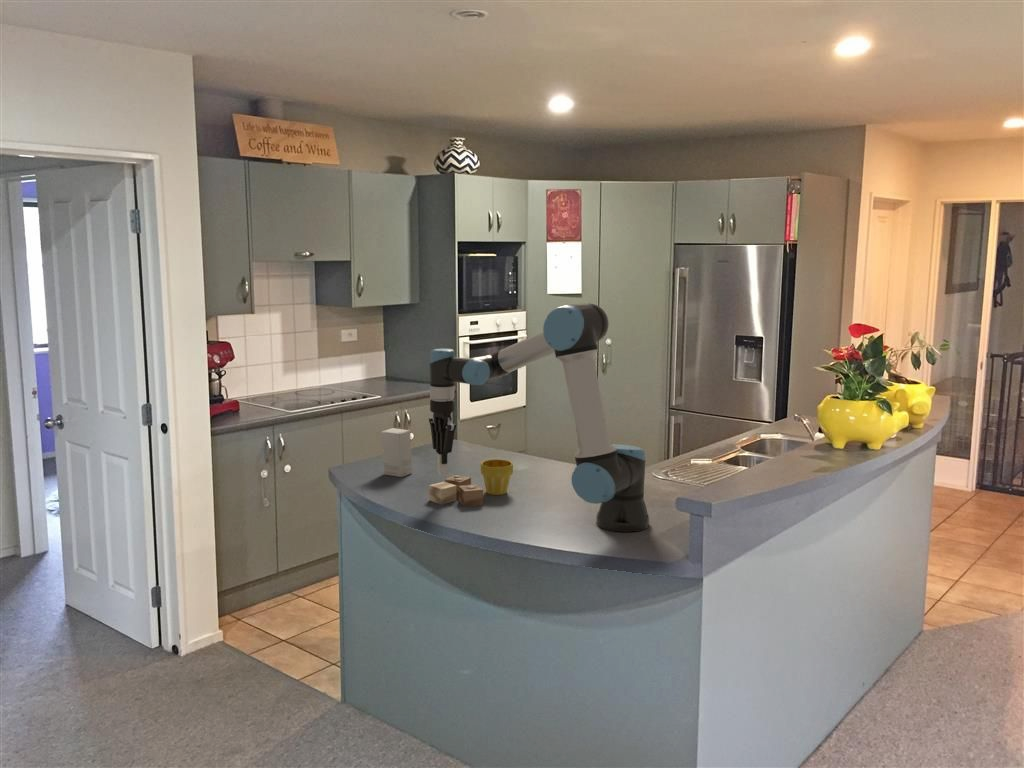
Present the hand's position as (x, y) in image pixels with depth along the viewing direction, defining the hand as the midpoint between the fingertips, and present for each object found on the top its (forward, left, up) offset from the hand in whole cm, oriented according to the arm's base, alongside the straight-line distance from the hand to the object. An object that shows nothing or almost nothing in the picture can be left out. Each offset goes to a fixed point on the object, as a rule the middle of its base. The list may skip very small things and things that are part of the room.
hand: (442, 473), depth 268 cm
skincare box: (+35, -2, -9) cm, 36 cm away
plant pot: (-2, -19, -9) cm, 21 cm away
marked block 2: (-7, -6, -9) cm, 13 cm away
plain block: (0, 0, -9) cm, 9 cm away
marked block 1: (+4, -8, -9) cm, 13 cm away
